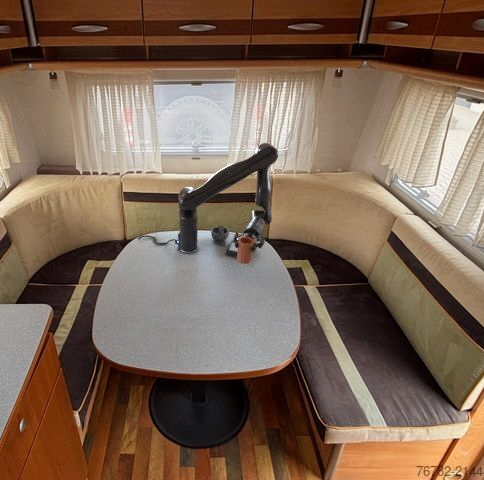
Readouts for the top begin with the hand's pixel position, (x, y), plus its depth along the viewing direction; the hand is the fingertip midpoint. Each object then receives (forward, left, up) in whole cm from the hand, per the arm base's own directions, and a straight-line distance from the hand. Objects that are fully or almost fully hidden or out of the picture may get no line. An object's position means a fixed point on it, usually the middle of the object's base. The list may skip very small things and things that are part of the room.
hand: (244, 247), depth 153 cm
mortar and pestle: (-20, +31, -18) cm, 41 cm away
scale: (-7, +26, -18) cm, 33 cm away
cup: (0, +2, -8) cm, 8 cm away
